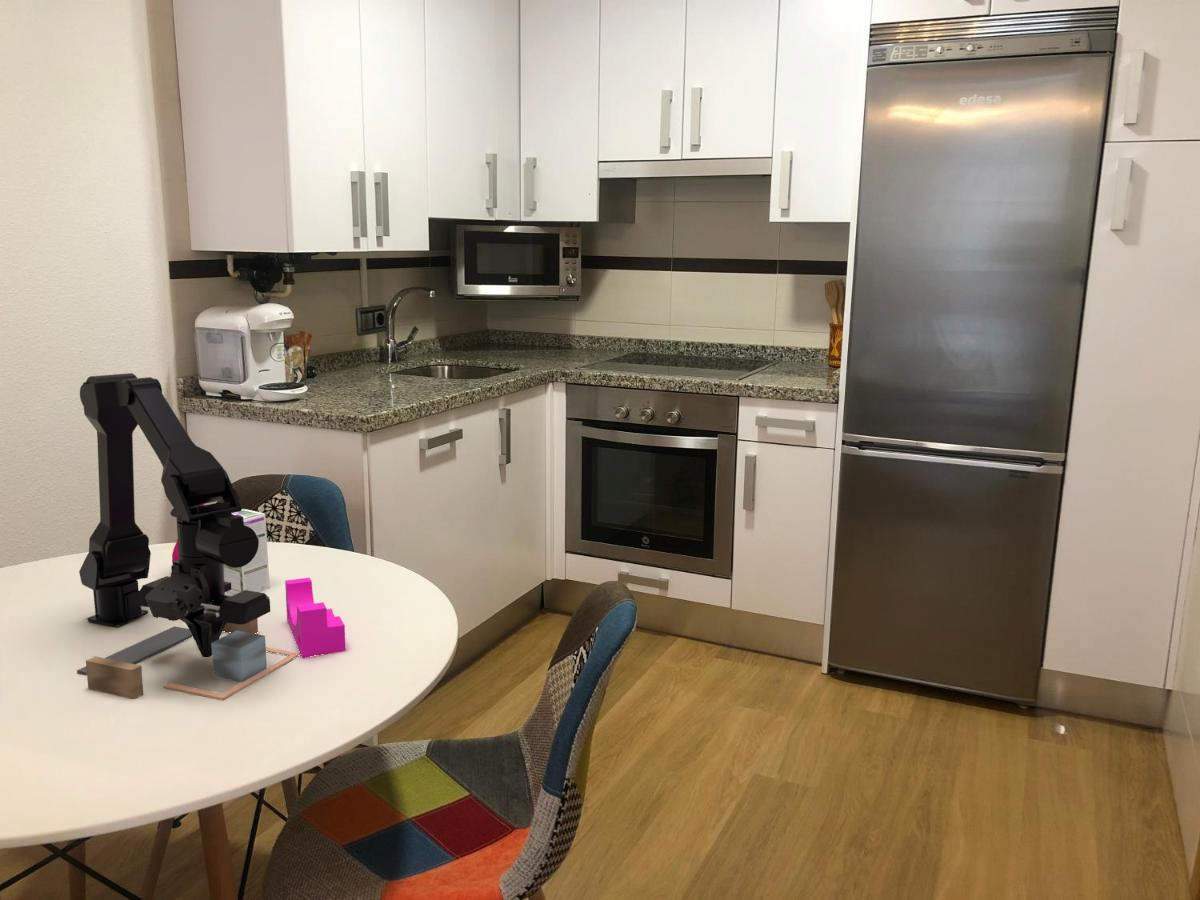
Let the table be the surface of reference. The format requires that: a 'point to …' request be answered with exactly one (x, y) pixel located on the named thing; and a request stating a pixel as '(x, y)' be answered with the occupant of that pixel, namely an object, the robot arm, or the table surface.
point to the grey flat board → (149, 646)
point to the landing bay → (241, 685)
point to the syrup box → (256, 570)
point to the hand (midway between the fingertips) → (207, 656)
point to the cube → (239, 656)
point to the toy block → (312, 621)
